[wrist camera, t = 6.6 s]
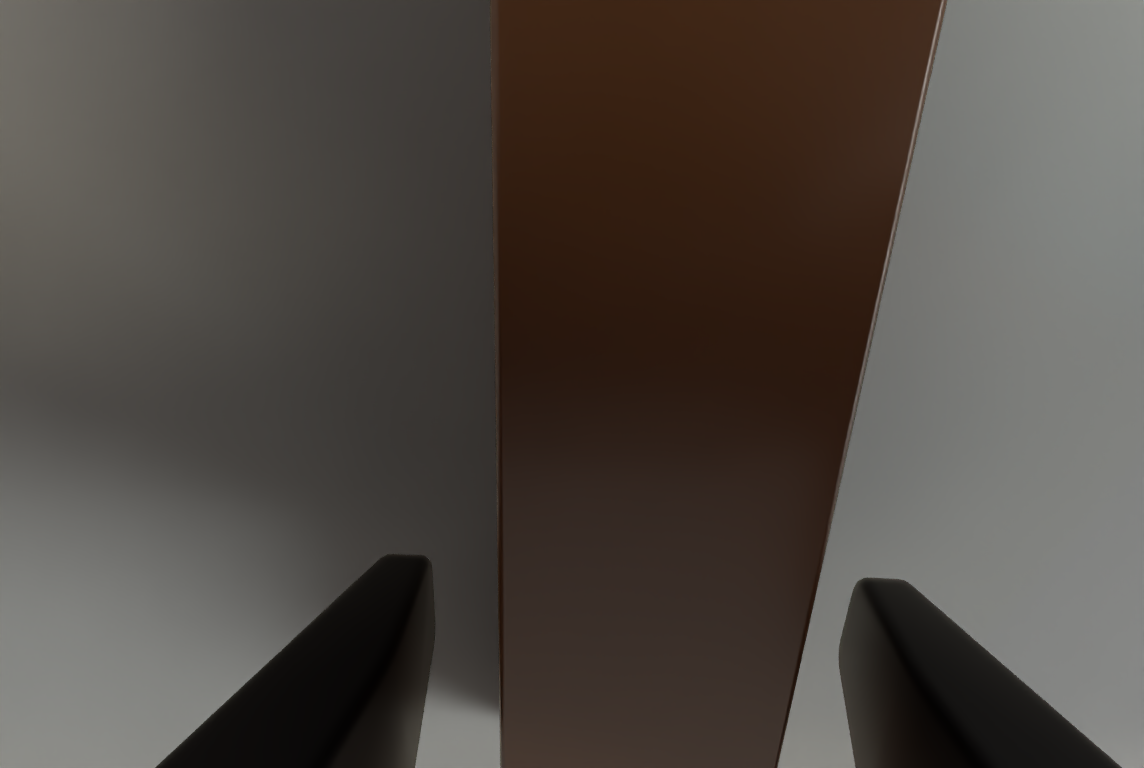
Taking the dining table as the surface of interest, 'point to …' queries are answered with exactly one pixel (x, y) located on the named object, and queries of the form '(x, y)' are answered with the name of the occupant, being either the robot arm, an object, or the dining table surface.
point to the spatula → (682, 352)
